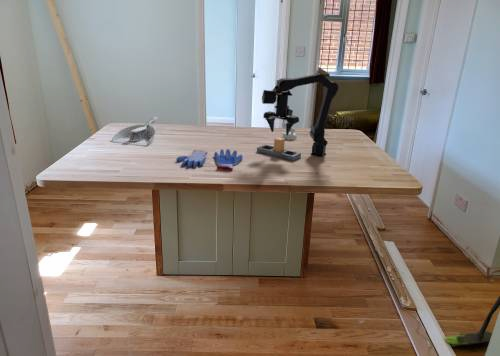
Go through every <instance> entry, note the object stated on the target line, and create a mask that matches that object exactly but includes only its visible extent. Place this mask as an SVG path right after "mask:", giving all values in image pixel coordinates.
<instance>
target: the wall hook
mask: <svg viewBox="0 0 500 356" xmlns="http://www.w3.org/2000/svg"><path fill="white" fill-rule="evenodd" d="M286 123H287V121H283V122H282V124H281V126H282V127H284V128H285V129H286ZM297 136H298V135H297V133H296V129H295V128H294V127H293V126H292V127H291V130H290V132H289V134H288V135H286V131H285V132H282V138H284V139H285V140H287V141H288V140H290V141H294V140H297Z"/></svg>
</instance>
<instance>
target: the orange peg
mask: <svg viewBox="0 0 500 356" xmlns="http://www.w3.org/2000/svg"><path fill="white" fill-rule="evenodd" d="M285 141H286V139H284V138H283V137H278V136H277V137H275V138H274V141H273V147H274V151H276V152H280V153H281V152H283V151H284V149H285V143H286V142H285Z"/></svg>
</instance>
